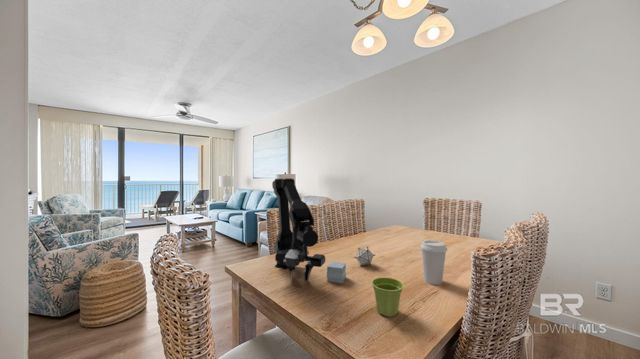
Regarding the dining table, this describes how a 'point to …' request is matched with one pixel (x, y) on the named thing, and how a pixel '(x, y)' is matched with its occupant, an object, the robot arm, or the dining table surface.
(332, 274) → the slab middle
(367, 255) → the game die
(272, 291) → the dining table surface
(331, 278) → the slab bottom
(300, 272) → the walnut cube
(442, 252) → the coffee cup
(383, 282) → the plant pot
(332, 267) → the slab top
